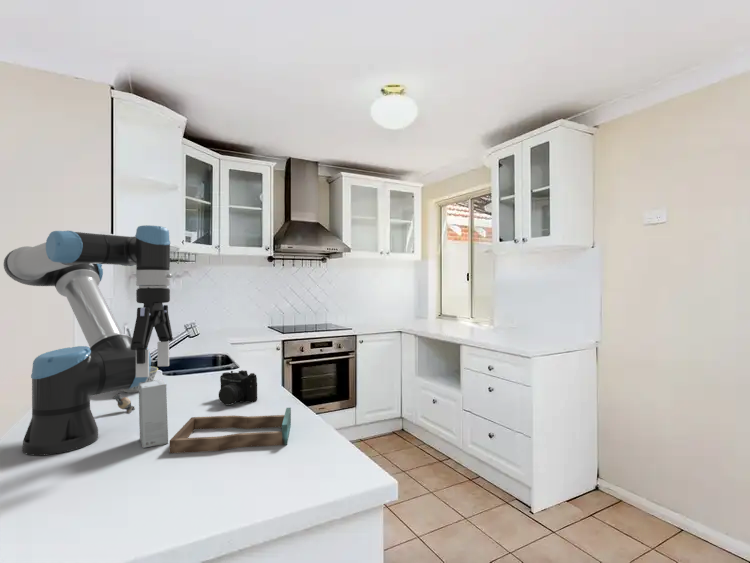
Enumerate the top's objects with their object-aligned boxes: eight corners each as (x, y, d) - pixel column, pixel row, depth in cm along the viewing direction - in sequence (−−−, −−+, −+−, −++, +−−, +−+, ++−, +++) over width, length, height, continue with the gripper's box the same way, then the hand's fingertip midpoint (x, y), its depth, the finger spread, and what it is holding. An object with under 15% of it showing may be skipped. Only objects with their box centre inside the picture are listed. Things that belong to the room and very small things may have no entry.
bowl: (166, 388, 160) (166, 368, 160) (123, 398, 147) (123, 376, 147) (143, 383, 169) (143, 364, 169) (100, 392, 155) (100, 371, 155)
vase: (109, 415, 128) (110, 395, 128) (116, 411, 133) (116, 392, 133) (129, 414, 129) (129, 394, 129) (135, 410, 134) (135, 391, 135)
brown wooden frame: (169, 453, 99) (169, 432, 99) (191, 428, 116) (191, 410, 116) (286, 447, 102) (286, 426, 102) (291, 423, 120) (291, 405, 120)
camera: (205, 404, 139) (205, 374, 140) (227, 396, 149) (227, 368, 149) (239, 408, 134) (239, 377, 134) (260, 400, 144) (260, 371, 144)
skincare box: (168, 444, 105) (168, 384, 105) (140, 449, 101) (140, 387, 101) (164, 434, 112) (164, 378, 112) (138, 438, 108) (138, 380, 108)
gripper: (149, 287, 95) (149, 381, 95) (184, 286, 119) (184, 361, 119) (113, 287, 94) (114, 383, 94) (156, 287, 118) (156, 362, 118)
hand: (153, 371), depth 106 cm, fingers open, 13 cm apart
